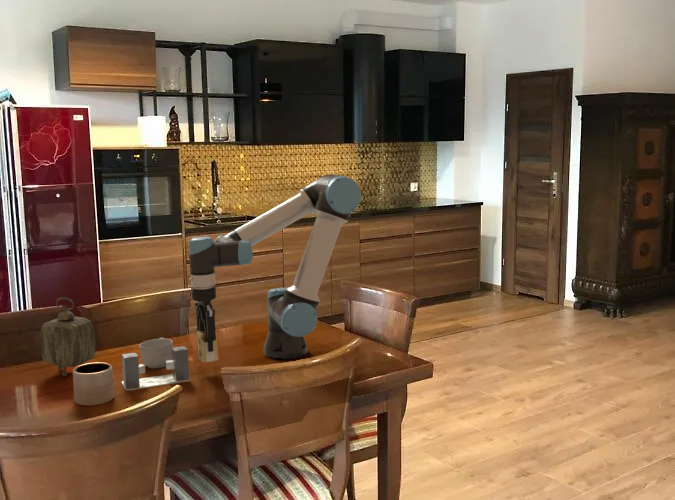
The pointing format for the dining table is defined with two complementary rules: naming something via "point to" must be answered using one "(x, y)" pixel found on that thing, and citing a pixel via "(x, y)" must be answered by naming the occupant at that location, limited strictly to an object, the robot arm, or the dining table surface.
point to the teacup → (156, 352)
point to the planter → (93, 383)
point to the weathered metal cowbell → (67, 340)
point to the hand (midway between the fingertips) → (207, 358)
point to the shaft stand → (134, 369)
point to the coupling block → (202, 346)
